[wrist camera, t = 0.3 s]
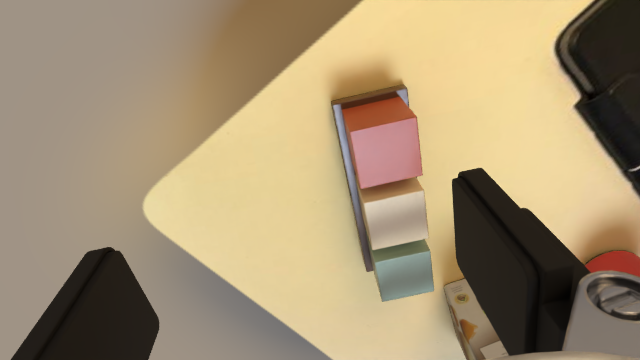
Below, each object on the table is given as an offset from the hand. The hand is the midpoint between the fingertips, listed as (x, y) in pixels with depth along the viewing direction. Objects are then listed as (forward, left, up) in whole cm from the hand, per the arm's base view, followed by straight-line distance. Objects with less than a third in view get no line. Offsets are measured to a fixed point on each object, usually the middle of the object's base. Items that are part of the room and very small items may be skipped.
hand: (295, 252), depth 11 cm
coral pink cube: (+5, +5, -19) cm, 21 cm away
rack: (+11, +5, -20) cm, 24 cm away
